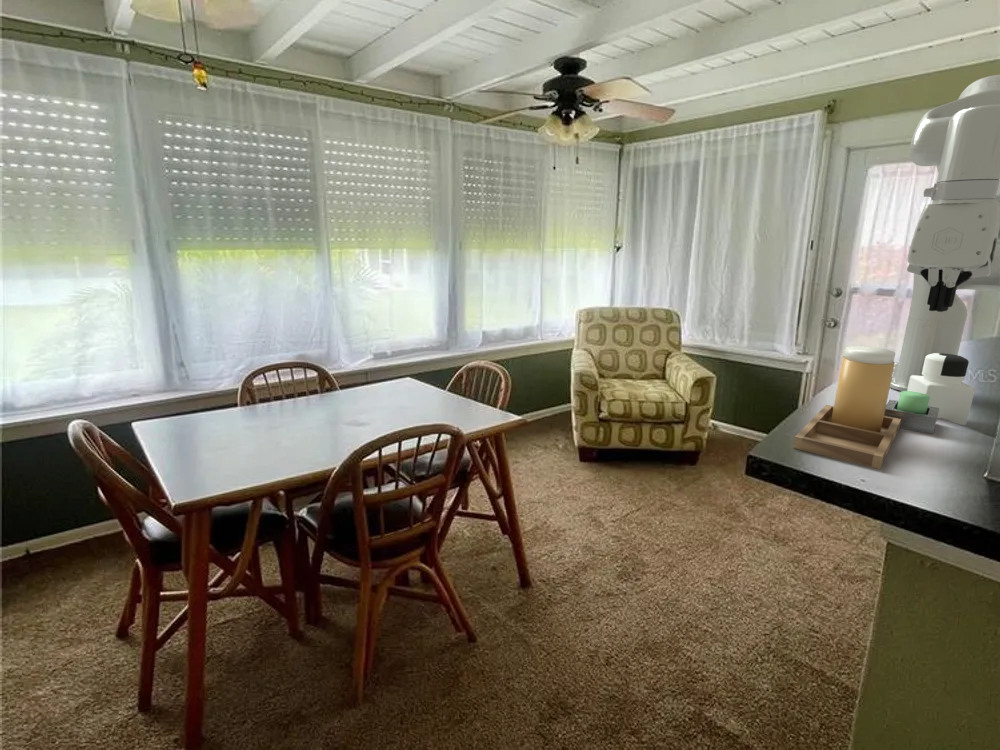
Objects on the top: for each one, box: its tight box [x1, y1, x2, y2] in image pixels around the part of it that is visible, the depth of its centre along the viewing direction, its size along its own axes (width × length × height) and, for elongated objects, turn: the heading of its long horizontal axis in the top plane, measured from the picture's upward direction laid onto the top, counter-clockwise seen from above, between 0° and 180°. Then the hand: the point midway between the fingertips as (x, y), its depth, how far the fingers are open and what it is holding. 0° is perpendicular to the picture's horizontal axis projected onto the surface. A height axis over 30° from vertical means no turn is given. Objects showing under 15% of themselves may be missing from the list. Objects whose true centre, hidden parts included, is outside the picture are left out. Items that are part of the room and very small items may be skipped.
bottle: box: [831, 345, 896, 432], centre depth 86 cm, size 7×7×14 cm
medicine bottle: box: [907, 353, 976, 427], centre depth 95 cm, size 7×7×12 cm
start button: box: [897, 391, 930, 414], centre depth 90 cm, size 4×4×4 cm
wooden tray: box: [792, 404, 901, 470], centre depth 84 cm, size 21×11×3 cm, turn 138°
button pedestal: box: [884, 399, 939, 435], centre depth 90 cm, size 7×7×4 cm
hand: (938, 310), depth 87 cm, fingers closed
